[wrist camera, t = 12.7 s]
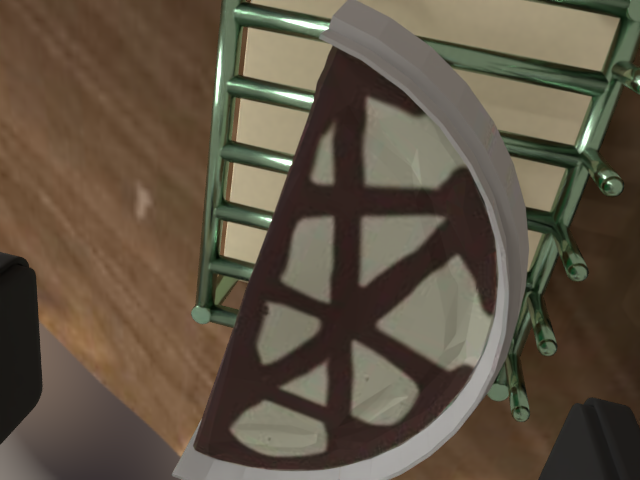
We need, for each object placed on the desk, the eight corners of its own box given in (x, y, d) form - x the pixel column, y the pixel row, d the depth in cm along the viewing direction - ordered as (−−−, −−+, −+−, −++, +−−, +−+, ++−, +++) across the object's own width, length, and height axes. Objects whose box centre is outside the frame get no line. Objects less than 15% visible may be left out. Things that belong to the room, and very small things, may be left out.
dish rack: (226, 269, 30) (145, 375, 22) (265, -82, 24) (168, -111, 15) (500, 337, 29) (519, 478, 21) (627, -17, 22) (729, -12, 14)
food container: (413, 358, 24) (389, 587, 15) (272, 298, 24) (166, 489, 15) (572, 62, 18) (686, 144, 9) (389, -12, 19) (330, 1, 10)
